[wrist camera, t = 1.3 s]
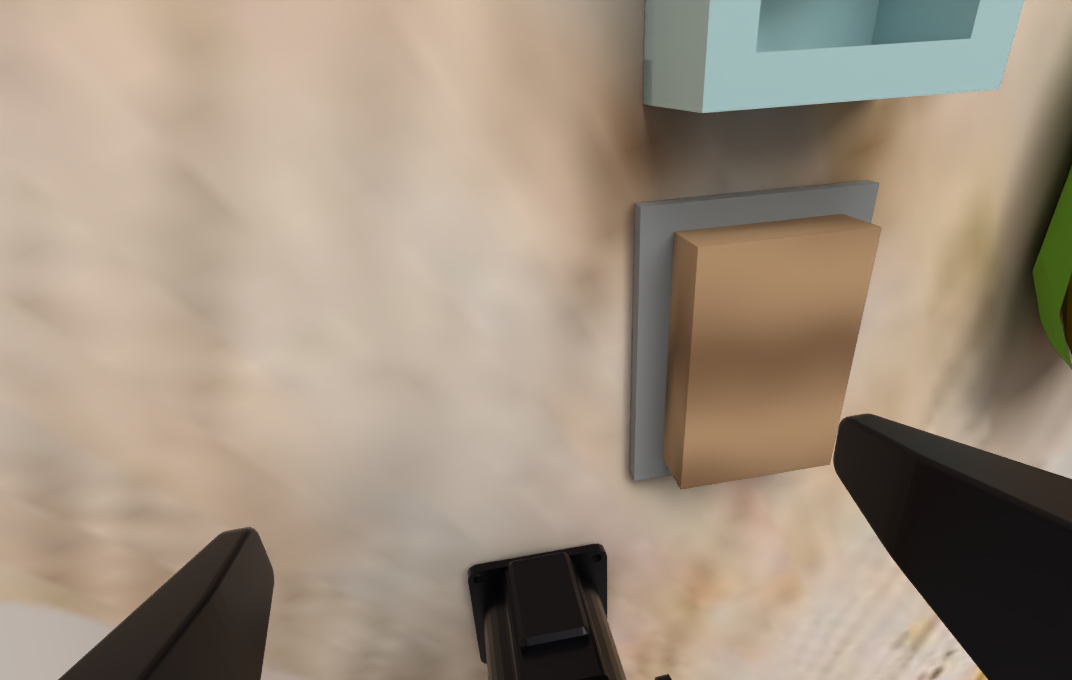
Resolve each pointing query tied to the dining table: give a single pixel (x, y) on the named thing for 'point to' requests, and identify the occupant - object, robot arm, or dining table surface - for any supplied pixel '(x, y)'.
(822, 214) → the mat
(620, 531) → the dining table surface
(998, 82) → the dish
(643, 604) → the dining table surface
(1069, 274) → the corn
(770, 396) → the board
